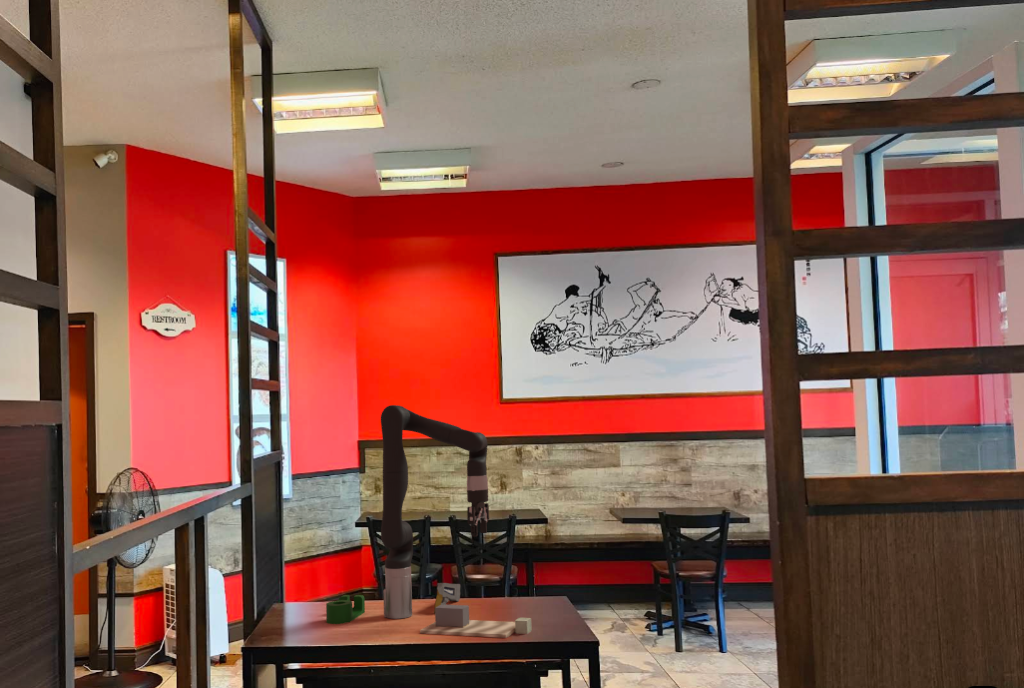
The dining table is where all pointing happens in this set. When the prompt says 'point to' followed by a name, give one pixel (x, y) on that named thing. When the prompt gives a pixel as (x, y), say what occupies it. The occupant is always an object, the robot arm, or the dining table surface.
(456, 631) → the plywood board
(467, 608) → the block
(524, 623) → the wood offcut
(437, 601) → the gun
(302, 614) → the dining table surface
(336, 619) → the green bracket
